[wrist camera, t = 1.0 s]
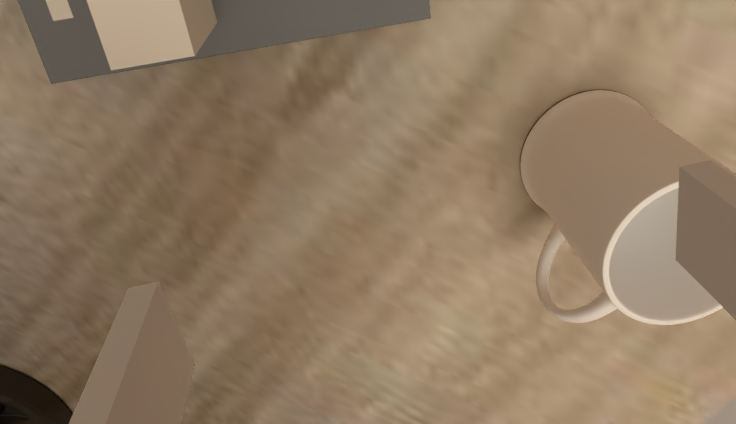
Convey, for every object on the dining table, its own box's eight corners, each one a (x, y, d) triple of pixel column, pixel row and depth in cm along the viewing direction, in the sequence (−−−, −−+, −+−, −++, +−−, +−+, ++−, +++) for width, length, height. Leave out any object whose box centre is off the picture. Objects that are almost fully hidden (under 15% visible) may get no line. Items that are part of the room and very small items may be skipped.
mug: (546, 271, 43) (624, 397, 32) (456, 205, 40) (509, 320, 29) (680, 142, 39) (817, 238, 29) (592, 60, 36) (709, 132, 26)
